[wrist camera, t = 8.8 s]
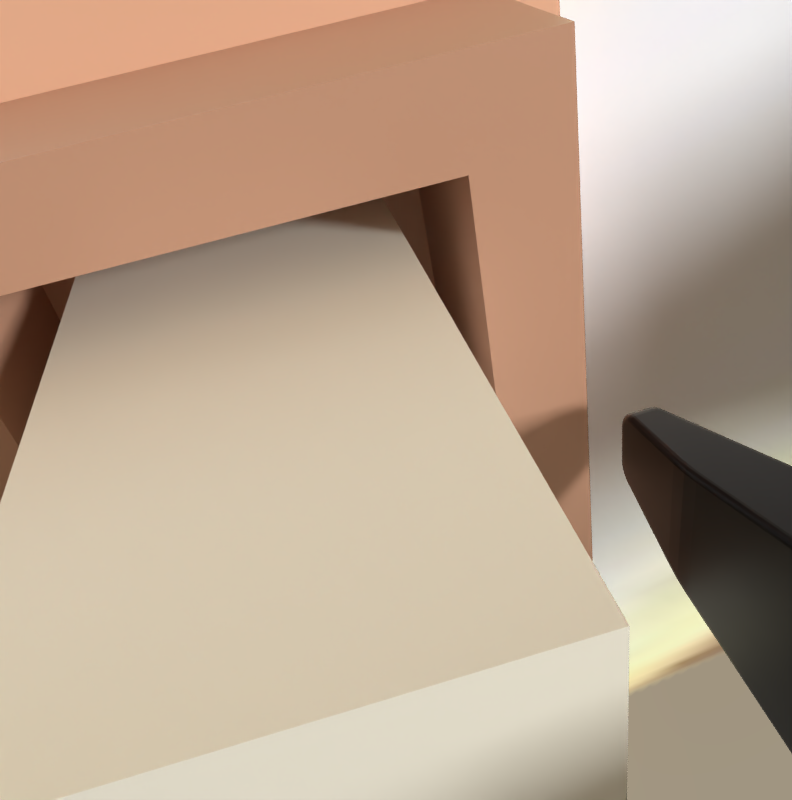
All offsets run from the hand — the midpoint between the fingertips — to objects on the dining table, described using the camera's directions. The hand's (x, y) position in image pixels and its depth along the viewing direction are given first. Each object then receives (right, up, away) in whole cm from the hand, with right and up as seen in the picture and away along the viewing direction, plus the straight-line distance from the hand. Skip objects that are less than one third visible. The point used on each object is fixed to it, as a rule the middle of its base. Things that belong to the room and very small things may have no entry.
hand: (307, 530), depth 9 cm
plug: (-1, +2, +3) cm, 4 cm away
